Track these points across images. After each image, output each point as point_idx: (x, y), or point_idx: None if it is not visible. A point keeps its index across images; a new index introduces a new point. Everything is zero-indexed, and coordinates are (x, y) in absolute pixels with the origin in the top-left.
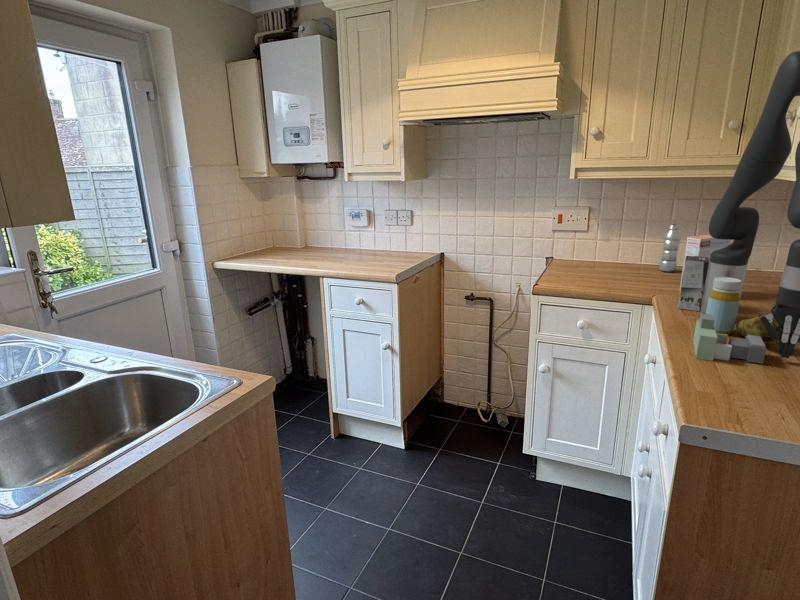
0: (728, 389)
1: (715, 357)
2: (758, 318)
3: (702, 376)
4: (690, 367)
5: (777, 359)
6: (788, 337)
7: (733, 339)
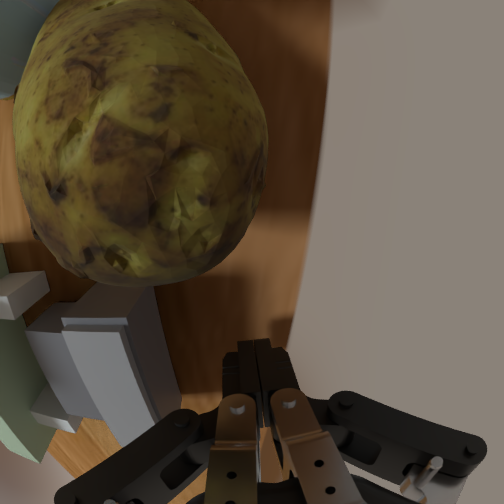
0: None
1: None
2: (22, 174)
3: None
4: (59, 444)
5: (235, 312)
6: (271, 408)
7: (42, 353)
